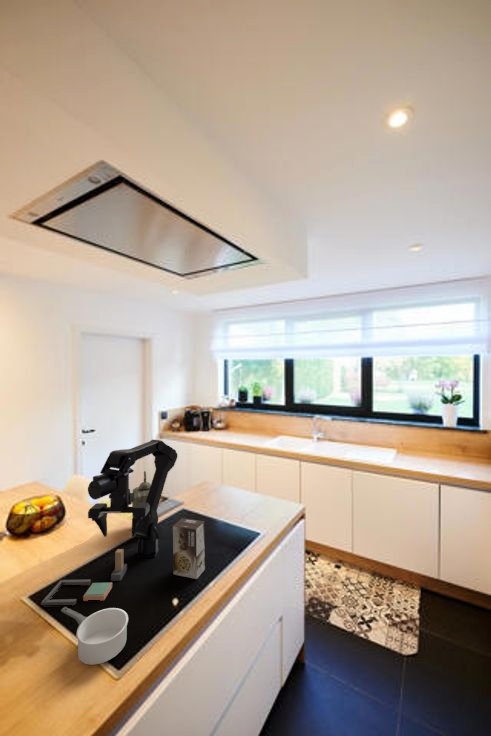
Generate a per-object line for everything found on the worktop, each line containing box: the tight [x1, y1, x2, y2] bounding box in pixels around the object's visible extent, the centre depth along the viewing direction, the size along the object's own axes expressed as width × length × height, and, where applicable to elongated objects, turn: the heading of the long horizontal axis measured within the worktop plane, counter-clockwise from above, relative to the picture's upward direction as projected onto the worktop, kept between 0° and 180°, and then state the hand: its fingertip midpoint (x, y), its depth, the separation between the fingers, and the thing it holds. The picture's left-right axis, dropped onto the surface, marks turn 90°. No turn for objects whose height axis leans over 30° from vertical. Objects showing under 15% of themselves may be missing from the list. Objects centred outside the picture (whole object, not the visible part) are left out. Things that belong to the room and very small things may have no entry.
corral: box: [40, 578, 92, 607], centre depth 95 cm, size 10×10×1 cm
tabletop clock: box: [131, 471, 151, 518], centre depth 136 cm, size 14×9×25 cm, turn 22°
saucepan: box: [60, 606, 129, 666], centre depth 78 cm, size 12×20×6 cm, turn 66°
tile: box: [82, 582, 113, 602], centre depth 96 cm, size 6×6×2 cm
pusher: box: [110, 548, 128, 582], centre depth 105 cm, size 3×6×8 cm, turn 2°
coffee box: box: [172, 517, 206, 580], centre depth 107 cm, size 9×6×16 cm
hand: (119, 536), depth 105 cm, fingers open, 9 cm apart
